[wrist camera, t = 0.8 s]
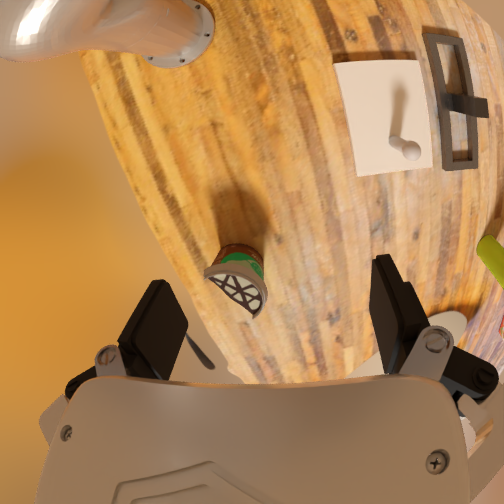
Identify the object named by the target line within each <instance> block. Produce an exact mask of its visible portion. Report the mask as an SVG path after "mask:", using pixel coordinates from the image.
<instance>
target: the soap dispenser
mask: <svg viewBox="0 0 504 504" xmlns="http://www.w3.org/2000/svg"><path fill="white" fill-rule="evenodd" d="M477 255H478V256H479V257H480V259H481V260H482V261H483V262H484V264H485V265H486V266H487V267H488V269H489V270H490V271H491V273H492V274H493V275H494V277H495V278H496V279H497V281H498V282H499V284H500V285H501V286H502V288H503V289H504V248H503V247H502V246H501V245H500V244H499V242H498V241H497V240H496V239H495V238H494V237H493V236H492V235H486V236H484V237H483V238H482V239H481V240H480V242H479V244H478V246H477Z"/></svg>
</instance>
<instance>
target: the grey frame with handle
mask: <svg viewBox="0 0 504 504" xmlns="http://www.w3.org/2000/svg"><path fill="white" fill-rule="evenodd" d="M422 36H423V40H424V43H425V47H426V51H427V55H428V59H429V63H430V67H431V72H432V77H433V82H434V88H435V93H436V100H437V107H438V115H439V124H440V134H441V149H442V169H444V170H445V171H454V170H464V169H476V168H478V132H477V118H476V117H481V118H489V113H488V103H487V99H486V98H481V97H475V96H474V92H473V85H472V79H471V74H470V68H469V64H468V59H467V55H466V51H465V47H464V43H463V39H462V38H457V37H452V36H446V35H439V34H431V33H424V34H422ZM436 43H437V44H445V45H452V46H454V49H455V53H456V57H457V62H458V66H459V71H460V76H461V82H462V88H463V94H454V93H447V92H446V86H445V80H444V75H443V70H442V65H441V61H440V57H439V53H438V49H437V45H436ZM449 111H455V112H459V113H463V114H466V121H467V135H468V159H454V160H453V156H452V136H451V123H450V114H449Z"/></svg>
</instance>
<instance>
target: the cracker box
mask: <svg viewBox="0 0 504 504" xmlns="http://www.w3.org/2000/svg"><path fill="white" fill-rule="evenodd" d="M499 333H500V335H501V337H502V339H503V341H504V317H503V320H502V323H501V326H500V329H499Z"/></svg>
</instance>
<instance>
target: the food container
mask: <svg viewBox="0 0 504 504" xmlns="http://www.w3.org/2000/svg"><path fill="white" fill-rule="evenodd" d="M204 277H205V278H204V280H205V279H207V278H209V279H210V280H211V281H212V282H214V283H215V284H216V285H217V286H218V287H220V288H221V289H222V290H223V291H224V292H225V293H226V295H228V296H229V297H230V298H231V299H232V300H234V301H235V302H237V303H238V304H240V305H241V306H243V307H244V308H245V309H247V310H248V311H249V312H250V313H251V314H253V319H254V318H256V317H257V316H258V315H259V314H260V313H261V311H262V310H263V308H264V306H265V303H266V301H267V296H268V292H267V287H266V285H265V283H264V267H263V260H262V257H261V256H260V254H259V253H258V252H257V251H256V250H255V249H254V248H252V247H250V246H248V245H244V244H230V245H227V246H225V247H223V248H222V249H221V250H220V251H219V253H218V255H217V257H216V258H215V260H214V262H213V263H212V265H211V266H210V267H208V268H207V269H205V270H204Z"/></svg>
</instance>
